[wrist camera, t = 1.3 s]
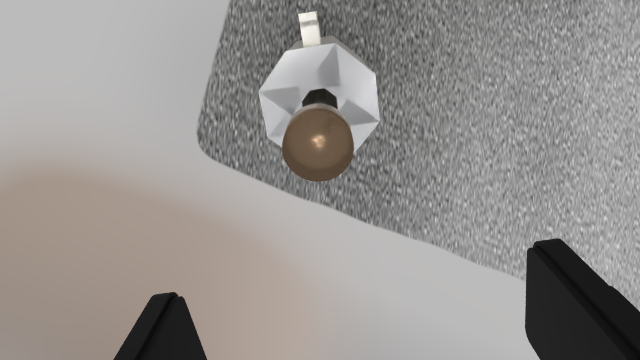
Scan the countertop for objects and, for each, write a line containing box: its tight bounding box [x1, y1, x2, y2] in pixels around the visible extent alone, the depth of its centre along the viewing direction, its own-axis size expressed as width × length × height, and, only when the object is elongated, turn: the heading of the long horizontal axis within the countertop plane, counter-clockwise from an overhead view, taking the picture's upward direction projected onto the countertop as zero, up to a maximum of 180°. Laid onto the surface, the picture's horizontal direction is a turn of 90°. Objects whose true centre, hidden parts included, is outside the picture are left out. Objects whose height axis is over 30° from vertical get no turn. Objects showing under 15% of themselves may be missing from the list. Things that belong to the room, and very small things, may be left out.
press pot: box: [259, 11, 380, 154], centre depth 38 cm, size 12×9×13 cm
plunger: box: [282, 88, 354, 181], centre depth 31 cm, size 4×4×17 cm
